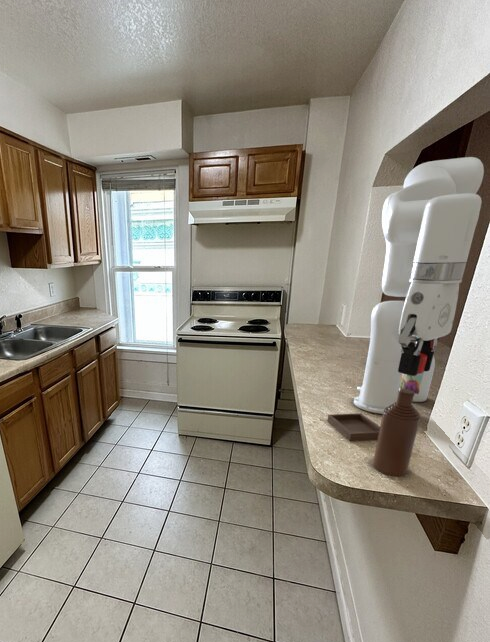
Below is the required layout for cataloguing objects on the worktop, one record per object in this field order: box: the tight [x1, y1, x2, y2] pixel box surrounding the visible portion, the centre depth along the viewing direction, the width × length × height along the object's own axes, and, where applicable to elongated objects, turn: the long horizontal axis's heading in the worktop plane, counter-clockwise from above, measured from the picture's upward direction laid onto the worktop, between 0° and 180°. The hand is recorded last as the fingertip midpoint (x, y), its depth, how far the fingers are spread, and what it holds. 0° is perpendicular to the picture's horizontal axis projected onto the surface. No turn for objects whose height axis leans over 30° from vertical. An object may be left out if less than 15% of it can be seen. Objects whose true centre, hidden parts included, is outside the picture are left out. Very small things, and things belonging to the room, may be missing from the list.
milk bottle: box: [399, 337, 436, 403], centre depth 110 cm, size 8×8×20 cm
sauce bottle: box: [372, 389, 421, 477], centre depth 74 cm, size 6×6×18 cm
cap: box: [417, 353, 427, 374], centre depth 68 cm, size 4×4×3 cm
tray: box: [326, 412, 380, 442], centre depth 94 cm, size 11×9×2 cm
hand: (413, 370), depth 69 cm, fingers closed on cap, 3 cm apart
